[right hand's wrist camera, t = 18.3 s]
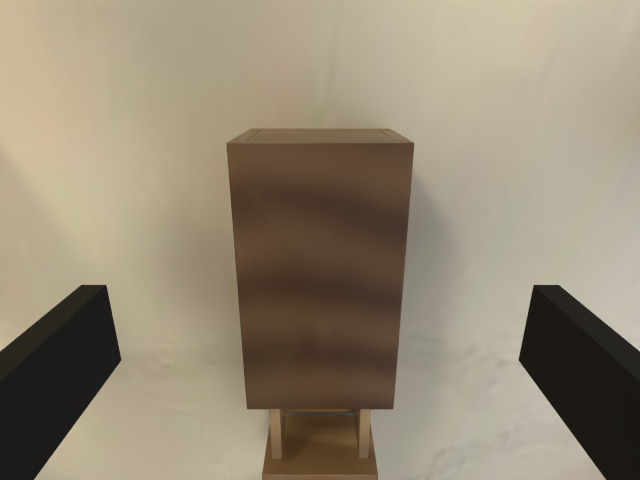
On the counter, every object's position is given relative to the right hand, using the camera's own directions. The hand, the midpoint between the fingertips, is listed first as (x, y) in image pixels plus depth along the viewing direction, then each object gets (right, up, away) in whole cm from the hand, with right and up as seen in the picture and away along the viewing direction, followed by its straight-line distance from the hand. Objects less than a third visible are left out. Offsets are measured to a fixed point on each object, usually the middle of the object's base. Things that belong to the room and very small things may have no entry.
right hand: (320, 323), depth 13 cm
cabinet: (0, +2, +21) cm, 21 cm away
